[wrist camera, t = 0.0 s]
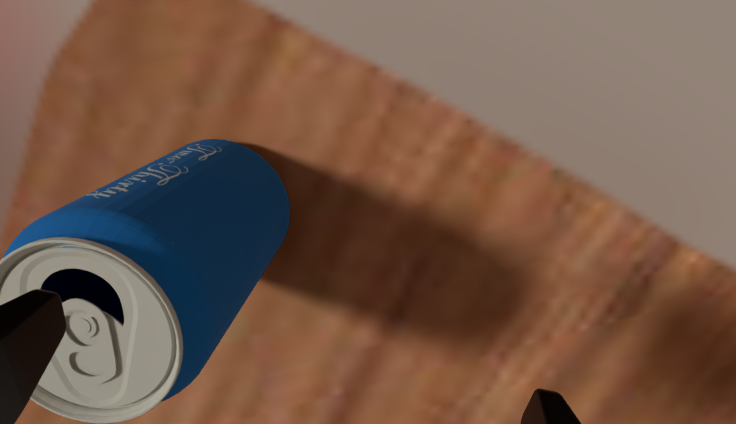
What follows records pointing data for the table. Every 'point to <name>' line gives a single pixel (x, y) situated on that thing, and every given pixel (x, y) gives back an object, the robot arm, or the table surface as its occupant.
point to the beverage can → (149, 275)
